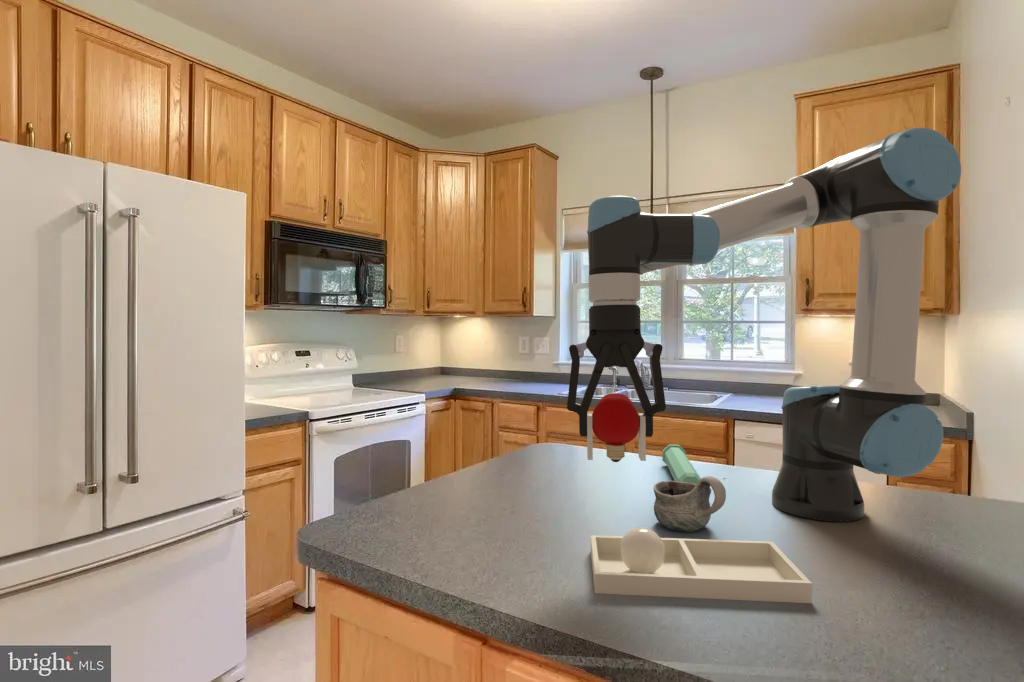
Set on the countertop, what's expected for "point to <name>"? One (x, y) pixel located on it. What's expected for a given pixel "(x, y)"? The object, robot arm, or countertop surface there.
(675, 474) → the green octagonal rod
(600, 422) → the red rounded piece
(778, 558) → the tray
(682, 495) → the mug
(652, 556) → the egg
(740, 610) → the countertop surface
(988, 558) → the countertop surface
